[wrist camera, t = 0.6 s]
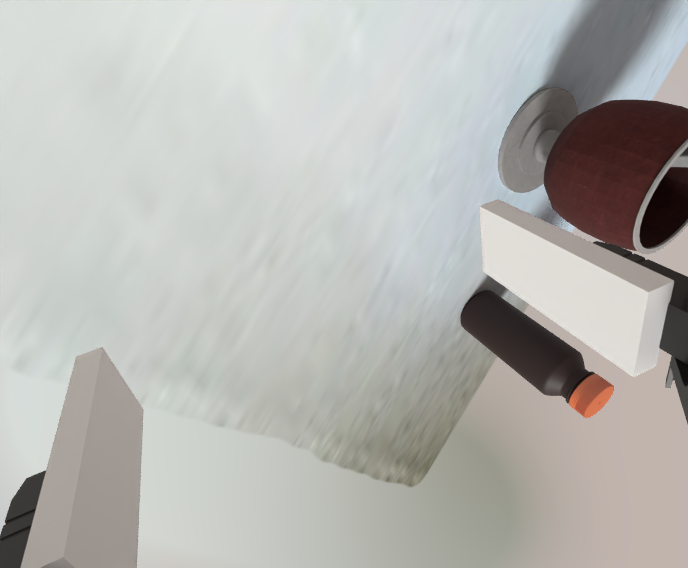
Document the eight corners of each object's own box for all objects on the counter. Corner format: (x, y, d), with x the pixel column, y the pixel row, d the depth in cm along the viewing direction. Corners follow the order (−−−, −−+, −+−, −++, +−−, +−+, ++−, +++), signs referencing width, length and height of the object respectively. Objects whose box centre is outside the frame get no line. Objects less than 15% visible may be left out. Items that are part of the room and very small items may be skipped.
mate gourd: (517, 216, 60) (669, 293, 46) (475, 155, 50) (653, 230, 36) (596, 120, 58) (780, 170, 44) (569, 38, 48) (795, 69, 34)
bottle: (471, 333, 69) (587, 428, 55) (452, 320, 64) (572, 419, 50) (500, 299, 68) (624, 386, 54) (482, 282, 64) (613, 373, 49)
